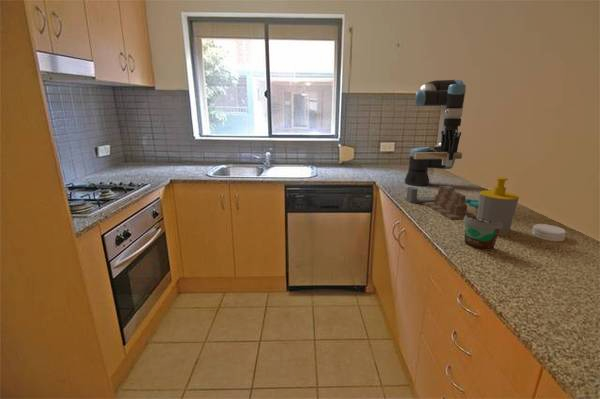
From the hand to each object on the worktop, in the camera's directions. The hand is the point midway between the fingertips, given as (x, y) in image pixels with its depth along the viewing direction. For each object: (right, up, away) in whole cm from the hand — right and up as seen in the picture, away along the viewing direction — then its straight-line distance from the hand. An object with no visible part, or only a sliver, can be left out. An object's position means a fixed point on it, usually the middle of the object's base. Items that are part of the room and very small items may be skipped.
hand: (446, 165), depth 157 cm
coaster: (+20, -32, -38) cm, 54 cm away
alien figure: (+21, -21, 0) cm, 29 cm away
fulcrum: (-3, -23, -9) cm, 25 cm away
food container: (-12, -34, -47) cm, 59 cm away
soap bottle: (+3, -29, -32) cm, 43 cm away
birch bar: (-5, +3, -2) cm, 7 cm away
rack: (-6, -18, +8) cm, 20 cm away
